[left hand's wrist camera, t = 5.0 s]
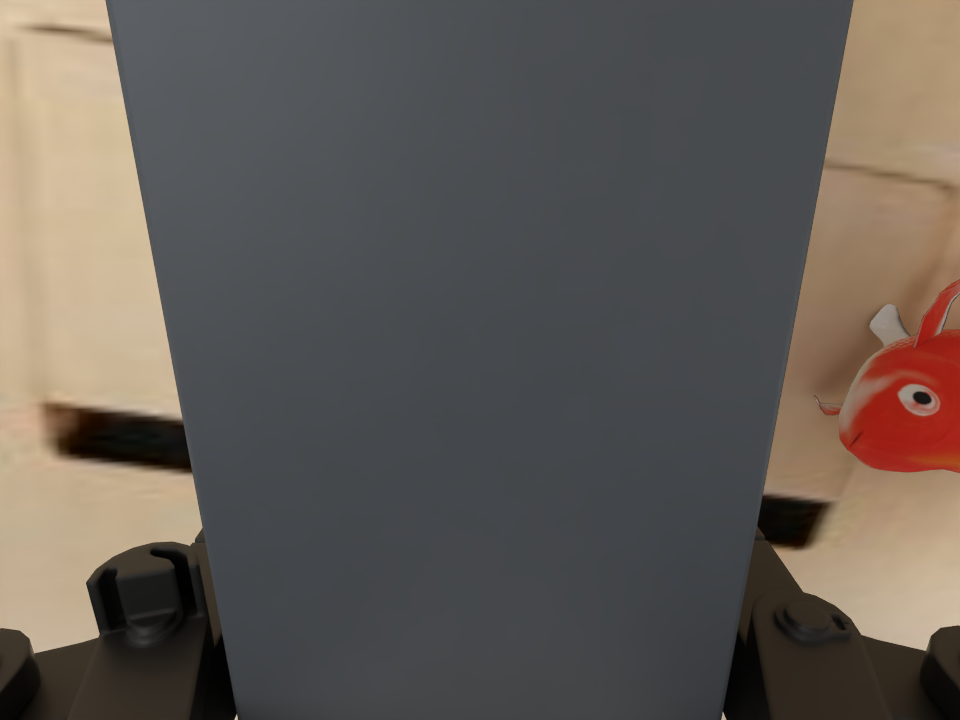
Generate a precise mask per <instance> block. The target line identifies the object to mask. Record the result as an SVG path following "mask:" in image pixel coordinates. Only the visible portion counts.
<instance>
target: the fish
mask: <svg viewBox="0 0 960 720" xmlns="http://www.w3.org/2000/svg"><path fill="white" fill-rule="evenodd" d="M959 294H960V280H958V281H956V282H954V283H952V284H951V285H949V286H948V287H947V288H946V289H945V290H943V291H942V292H941V293H940V294H939V296H938V297H937V299H936V301H935V302H934V304H933V305H932V306H931V308H930V309H929V310H928V311H927V313H926V314H925V315H924V316H923V319H922V322H921V324H920V327H919V330H918V333H917V335H915V336H910V335H909V334H908V333H907V331H906V330H905V328H904V327H903V325H902V322H901V320H900V316H899V313H898V309H897V307H896V306H895V305H892V304H887V305H885V306H884V307H883V308H882V309H881V310H880V311H879V312H878V313H877V315H876V316H875V317H874V318H873V320H872V321H871V323H870V329H871V330H872V332H873V333H874V334H875V335H876V336H877V337H878V338H879V339H880V340H881V341H882V343H883V346H884V348H882V349H881V350H879V351H878V352H876V353H875V354H873V355H872V356H871V357H870V358H869V359H867V360H866V362H865V363H864V364H863V366H862V367H861V368H860V370H859V371H858V373H857V375H856V377H855V379H854V381H853V382H852V384H851V387H850V389H849V391H848V394H847V396H846V398H845V401H844V403H843V404H823V403H820V402H819V400H818V399H817V398H816V396H815V395H814V396H815V399H816V402H817V404H818V405H819V406H820V409H821V410H822V411H823V412H824V414H825V415H838V414H839V418H838V426H839V435H840V440H841V442H842V443H843V444H844V446H845V447H846V448H847V450H849V451H850V452H852V453H853V454H854V455H855V456H856V457H857V458H858V459H859V460H860V461H861V462H862V463H864V464H865V465H867V466H869V467H871V468H875V469H880V470H885V471H896V472H919V471H927V470H937V469H945V470H950V471H954V472H958V473H960V330H942V329H943V327H944V324H945V322H946V318H947V314H948V311H949V309H950V306H951V304H952V302H953V301H954V300H955V299H956V298H957V296H958V295H959Z"/></svg>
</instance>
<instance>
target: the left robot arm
mask: <svg viewBox="0 0 960 720" xmlns="http://www.w3.org/2000/svg"><path fill="white" fill-rule="evenodd" d="M86 585H87V588H88V592H89V596H90V599H91V603H92V607H93V611H94V614H95V618H96V622H97V625H98V629H99V633H100V635H99V638H96V639H92V640H89V641H86V642H82V643H78V644H74V645H69V646H65V647H61V648H57V649H52V650H48V651H44V652H39V653H35V654H34V652H33V649H32V646H31V643H30V639H29V638H28V637H27V636H25V635H24V634H23V633H22V632H21V631H18V630H11V629H4V628H1V629H0V720H234V719H235V717H236V714H237V711H236V705H235V700H234V695H233V689H232V684H231V678H230V673H229V667H228V662H227V657H226V651H225V646H224V640H223V635H222V629H221V624H220V619H219V613H218V608H217V602H216V597H215V591H214V586H213V581H212V575H211V570H210V564H209V559H208V553H207V548H206V543H205V537H204V532H203V528H202V530H201V531H200V533H199V534H198V536H197V537H196V538H195V543H192V544H191V546H188V545H185V544H180V543H176V542H156V543H150V544H146V545H142V546H138V547H134V548H132V549H129V550H127V551H125V552H123V553H121V554H118V555H116V556H114V557H112V558H111V559H110V560H108V561H107V562H105V563H104V564H103V565H101V566H100V567H99V568H97V569H96V570H95V571H94V573H93V574H92V575H91V577H90V578H89V579H88V581H87V582H86ZM723 712H724V715H725V717H726V720H960V626H951V627H944V628H940V629H939V630H938V631H936V632H935V633H934V634H933V635H932V636H931V638H930V641H929V644H928V647H927V650H926V651H923V650H919V649H915V648H910V647H906V646H902V645H897V644H893V643H889V642H884V641H880V640H876V639H873V638H870V637H866V636H863V635H861V634H860V632H859V631H858V629H857V628H856V626H855V625H854V623H853V621H852V620H851V619H850V618H849V617H848V616H847V615H846V614H844V613H843V612H842V611H841V610H840V609H838V608H837V607H836V606H835V605H833V604H831V603H829V602H827V601H825V600H823V599H821V598H819V597H817V596H815V595H811V594H808V593H804V592H803V591H802V590H801V588H800V587H799V585H798V584H797V582H796V581H795V580H794V578H793V577H792V575H791V574H790V572H789V571H788V569H787V568H786V567H785V565H784V564H783V562H782V561H781V559H780V558H779V557H778V555H777V554H776V552H775V551H774V549H773V548H772V546H771V545H770V544H769V542H768V541H765V536H764V535H763V533H762V532H761V531H760V529H759V528H758V526H757V528H756V533H755V539H754V544H753V550H752V555H751V561H750V566H749V571H748V577H747V582H746V588H745V593H744V599H743V604H742V609H741V615H740V620H739V626H738V631H737V637H736V642H735V647H734V653H733V658H732V664H731V669H730V675H729V680H728V686H727V691H726V696H725V702H724V707H723Z"/></svg>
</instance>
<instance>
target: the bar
mask: <svg viewBox="0 0 960 720" xmlns="http://www.w3.org/2000/svg"><path fill="white" fill-rule="evenodd" d="M853 1H854V0H106V5H107V11H108V16H109V22H110V27H111V32H112V38H113V43H114V49H115V54H116V60H117V65H118V70H119V76H120V81H121V87H122V92H123V98H124V103H125V108H126V114H127V119H128V125H129V130H130V136H131V141H132V146H133V152H134V157H135V163H136V168H137V174H138V179H139V184H140V190H141V195H142V201H143V206H144V212H145V217H146V222H147V228H148V233H149V239H150V244H151V250H152V255H153V260H154V266H155V271H156V277H157V282H158V288H159V293H160V298H161V304H162V309H163V315H164V320H165V326H166V331H167V336H168V342H169V347H170V353H171V358H172V364H173V369H174V374H175V380H176V385H177V391H178V396H179V402H180V407H181V412H182V418H183V423H184V429H185V434H186V440H187V445H188V450H189V456H190V461H191V467H192V472H193V478H194V483H195V488H196V494H197V499H198V505H199V510H200V515H201V521H202V526H203V532H204V537H205V543H206V548H207V553H208V559H209V564H210V570H211V575H212V581H213V586H214V591H215V597H216V602H217V608H218V613H219V619H220V624H221V629H222V635H223V640H224V646H225V651H226V657H227V662H228V667H229V673H230V678H231V684H232V689H233V695H234V700H235V705H236V711H237V716H238V720H721V718H722V713H723V707H724V702H725V696H726V691H727V686H728V680H729V675H730V669H731V664H732V658H733V653H734V647H735V642H736V637H737V631H738V626H739V620H740V615H741V609H742V604H743V599H744V593H745V588H746V582H747V577H748V571H749V566H750V561H751V555H752V550H753V544H754V539H755V533H756V528H757V522H758V517H759V512H760V506H761V501H762V495H763V490H764V484H765V479H766V474H767V468H768V463H769V457H770V452H771V446H772V441H773V435H774V430H775V425H776V419H777V414H778V408H779V403H780V397H781V392H782V387H783V381H784V376H785V370H786V365H787V359H788V354H789V349H790V343H791V338H792V332H793V327H794V321H795V316H796V310H797V305H798V300H799V294H800V289H801V283H802V278H803V272H804V267H805V262H806V256H807V251H808V245H809V240H810V234H811V229H812V223H813V218H814V213H815V207H816V202H817V196H818V191H819V185H820V180H821V175H822V169H823V164H824V158H825V153H826V147H827V142H828V137H829V131H830V126H831V120H832V115H833V109H834V104H835V98H836V93H837V88H838V82H839V77H840V71H841V66H842V60H843V55H844V50H845V44H846V39H847V33H848V28H849V22H850V17H851V11H852V6H853Z"/></svg>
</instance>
